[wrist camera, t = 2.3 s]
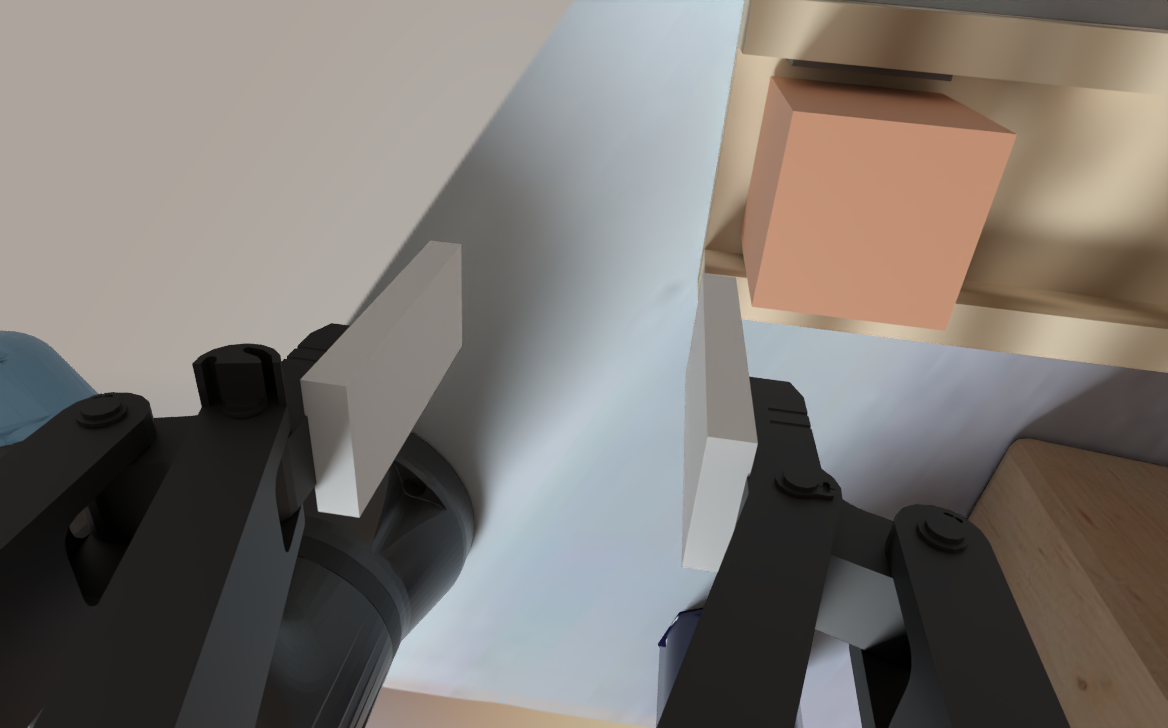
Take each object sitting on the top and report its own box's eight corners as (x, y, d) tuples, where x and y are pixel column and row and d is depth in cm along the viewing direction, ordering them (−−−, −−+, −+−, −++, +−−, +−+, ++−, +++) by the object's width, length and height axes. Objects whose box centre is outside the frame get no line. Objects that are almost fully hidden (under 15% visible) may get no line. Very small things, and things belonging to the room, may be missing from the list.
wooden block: (1010, 426, 38) (1271, 813, 21) (1201, 466, 38) (1625, 892, 21) (934, 561, 43) (1094, 963, 26) (1102, 597, 43) (1377, 1029, 26)
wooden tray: (697, 279, 37) (698, 323, 32) (746, -9, 30) (754, -3, 26) (1199, 341, 35) (1271, 395, 30) (1364, 47, 28) (1486, 64, 24)
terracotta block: (739, 235, 34) (751, 306, 27) (770, 75, 30) (793, 110, 23) (893, 253, 33) (945, 331, 26) (942, 93, 30) (1016, 134, 23)
